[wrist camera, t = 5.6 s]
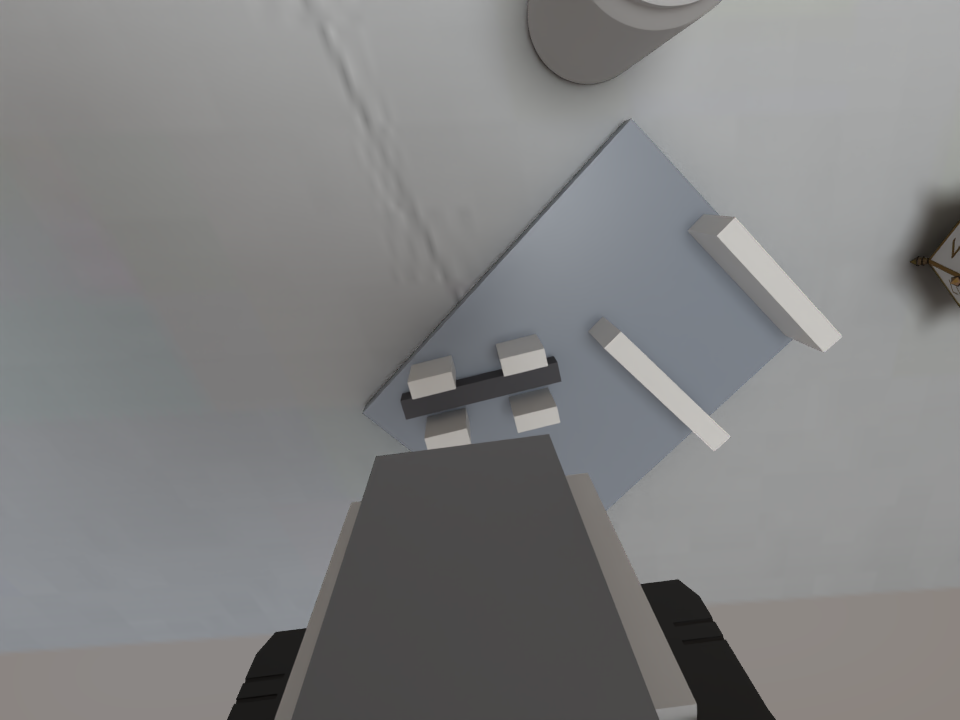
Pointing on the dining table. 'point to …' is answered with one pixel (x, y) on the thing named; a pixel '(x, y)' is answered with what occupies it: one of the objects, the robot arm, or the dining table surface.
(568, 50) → the beverage can
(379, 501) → the connector plug
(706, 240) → the end holder
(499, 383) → the bar
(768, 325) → the board
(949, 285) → the game die
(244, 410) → the dining table surface
